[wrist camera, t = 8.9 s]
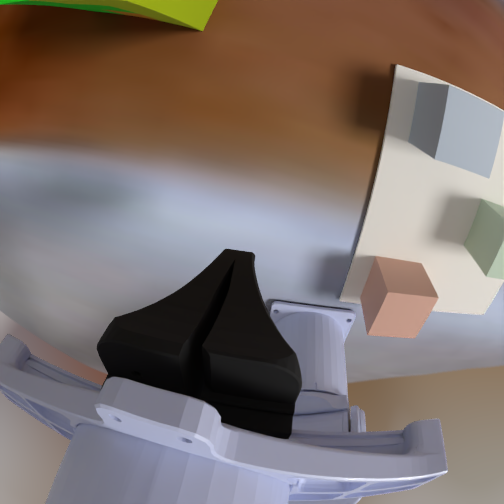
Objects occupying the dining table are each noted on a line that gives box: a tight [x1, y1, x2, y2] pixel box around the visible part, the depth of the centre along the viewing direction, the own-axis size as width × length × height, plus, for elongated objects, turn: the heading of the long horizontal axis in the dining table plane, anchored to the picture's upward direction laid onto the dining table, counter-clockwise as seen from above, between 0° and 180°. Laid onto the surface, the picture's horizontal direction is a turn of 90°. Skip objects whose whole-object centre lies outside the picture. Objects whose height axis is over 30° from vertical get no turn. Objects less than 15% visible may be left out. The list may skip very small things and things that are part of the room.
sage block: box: [464, 199, 504, 280], centre depth 17 cm, size 4×4×4 cm
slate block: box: [408, 82, 504, 179], centre depth 14 cm, size 4×4×4 cm
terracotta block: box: [360, 256, 439, 338], centre depth 21 cm, size 4×4×4 cm
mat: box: [339, 64, 504, 315], centre depth 19 cm, size 20×18×1 cm
